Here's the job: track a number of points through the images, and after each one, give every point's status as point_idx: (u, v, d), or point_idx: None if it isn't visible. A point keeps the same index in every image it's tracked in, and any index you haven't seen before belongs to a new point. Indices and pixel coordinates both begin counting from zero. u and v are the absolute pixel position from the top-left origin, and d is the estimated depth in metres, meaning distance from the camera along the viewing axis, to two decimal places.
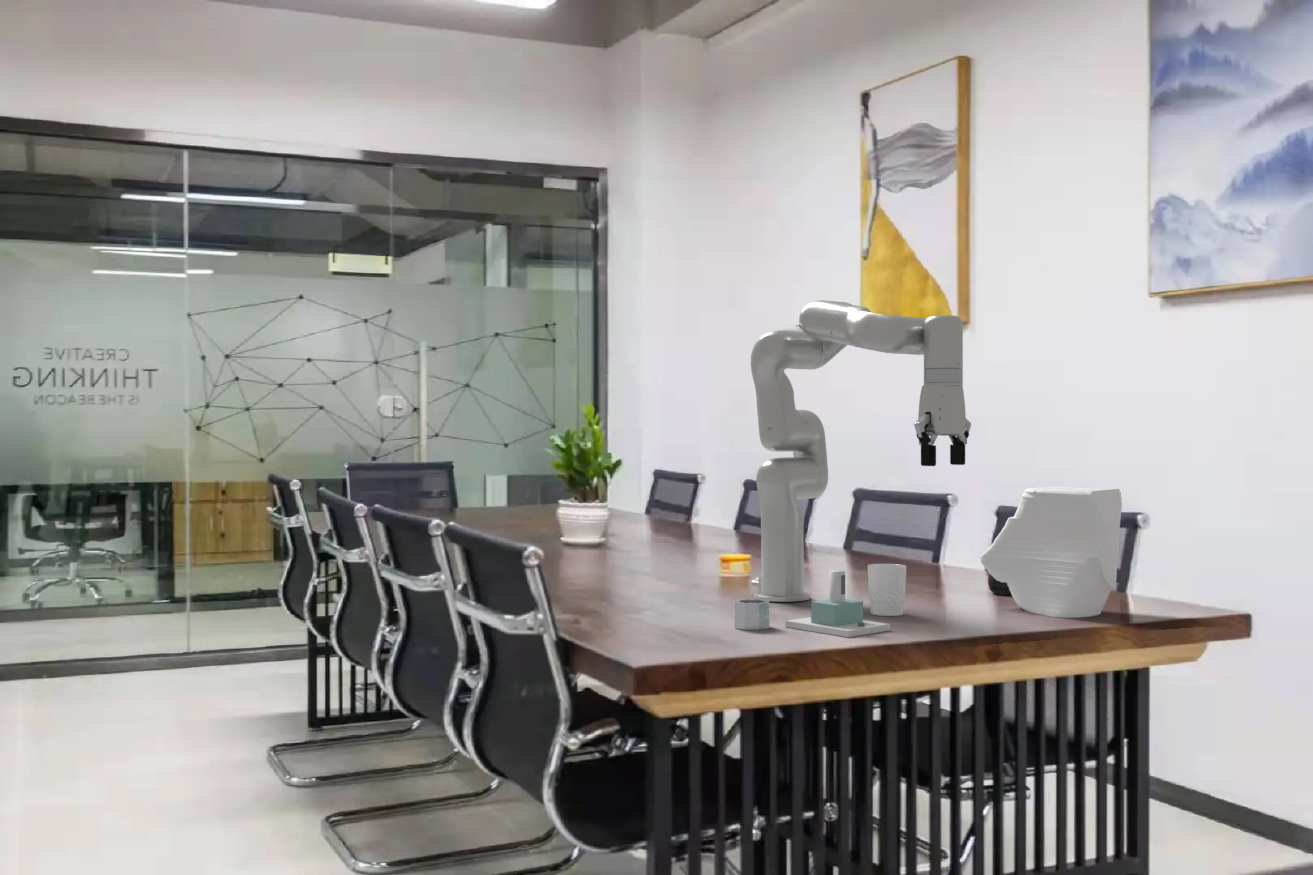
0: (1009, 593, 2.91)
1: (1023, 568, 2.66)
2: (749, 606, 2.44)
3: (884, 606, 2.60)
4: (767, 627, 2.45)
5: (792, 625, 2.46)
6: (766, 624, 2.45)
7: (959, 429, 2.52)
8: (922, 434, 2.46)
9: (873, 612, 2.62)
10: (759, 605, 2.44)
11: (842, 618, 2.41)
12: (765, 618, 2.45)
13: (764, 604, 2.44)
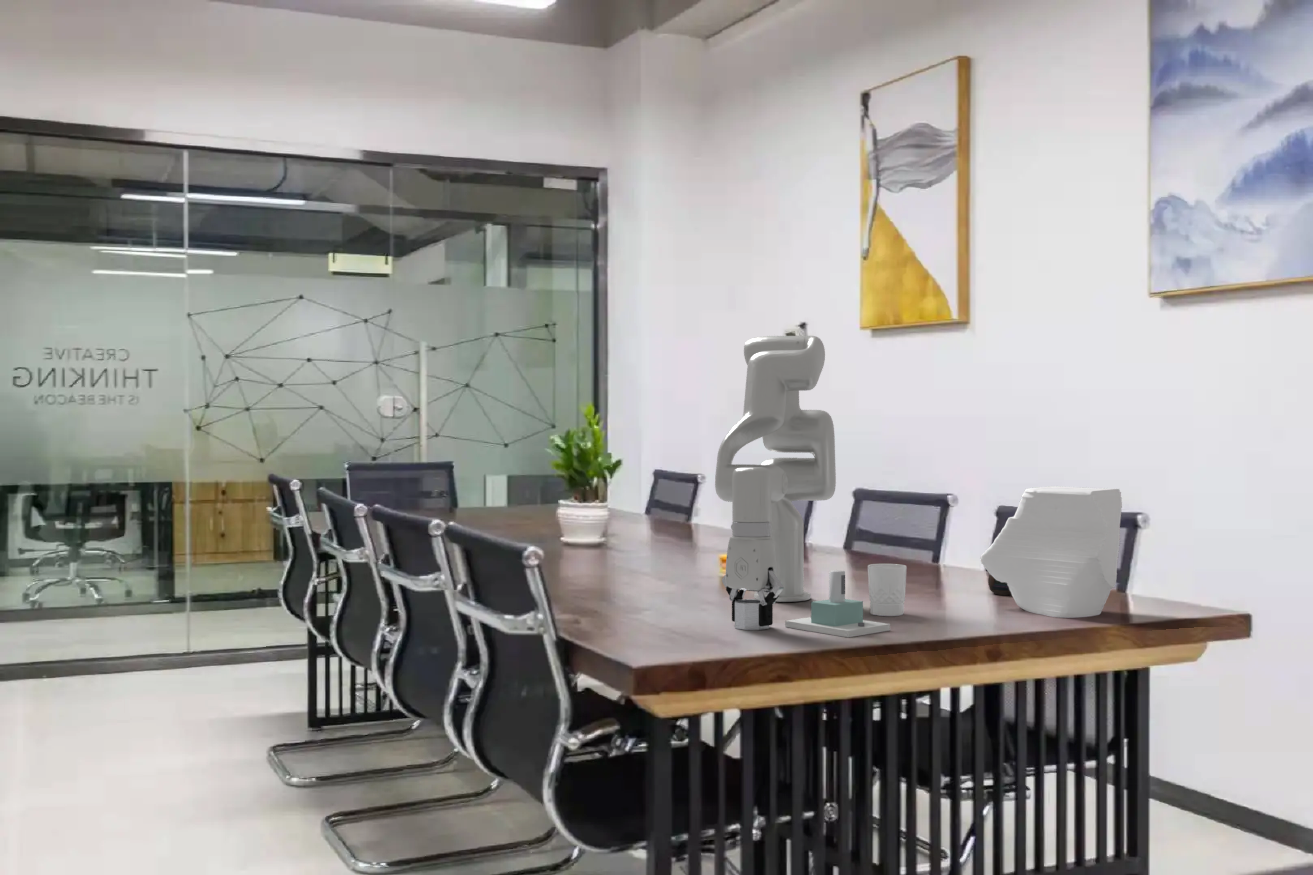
0: (1009, 593, 2.91)
1: (1023, 568, 2.66)
2: (749, 606, 2.44)
3: (884, 606, 2.60)
4: (767, 627, 2.45)
5: (792, 625, 2.46)
6: None
7: None
8: (778, 594, 2.42)
9: (873, 612, 2.62)
10: None
11: (842, 618, 2.41)
12: None
13: None
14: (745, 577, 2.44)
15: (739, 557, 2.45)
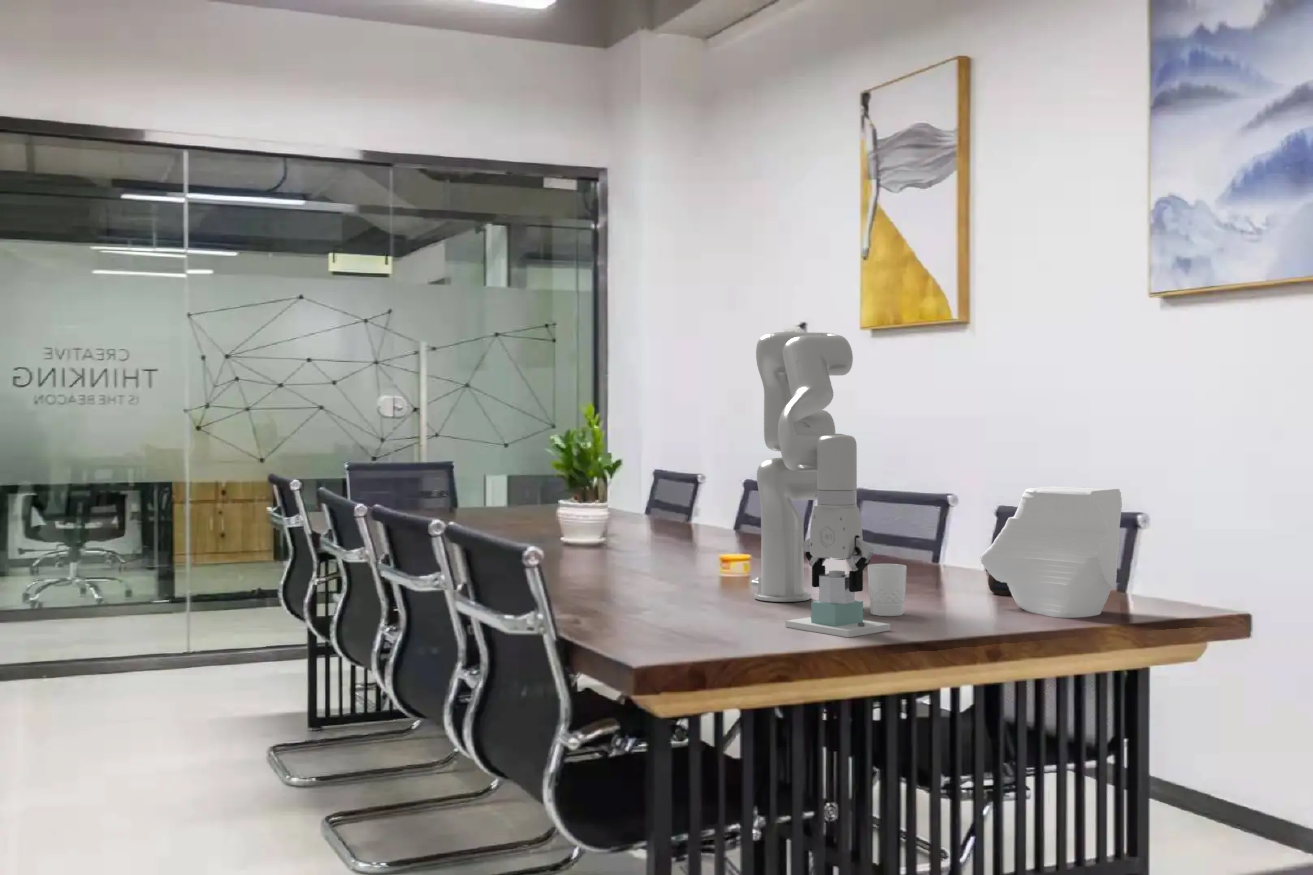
0: (1009, 593, 2.91)
1: (1023, 568, 2.66)
2: (835, 580, 2.42)
3: (884, 606, 2.60)
4: (852, 601, 2.43)
5: (792, 625, 2.46)
6: (851, 598, 2.43)
7: None
8: (869, 559, 2.39)
9: (873, 612, 2.62)
10: (845, 579, 2.41)
11: (842, 618, 2.41)
12: (850, 592, 2.43)
13: None
14: (831, 546, 2.42)
15: (824, 526, 2.43)
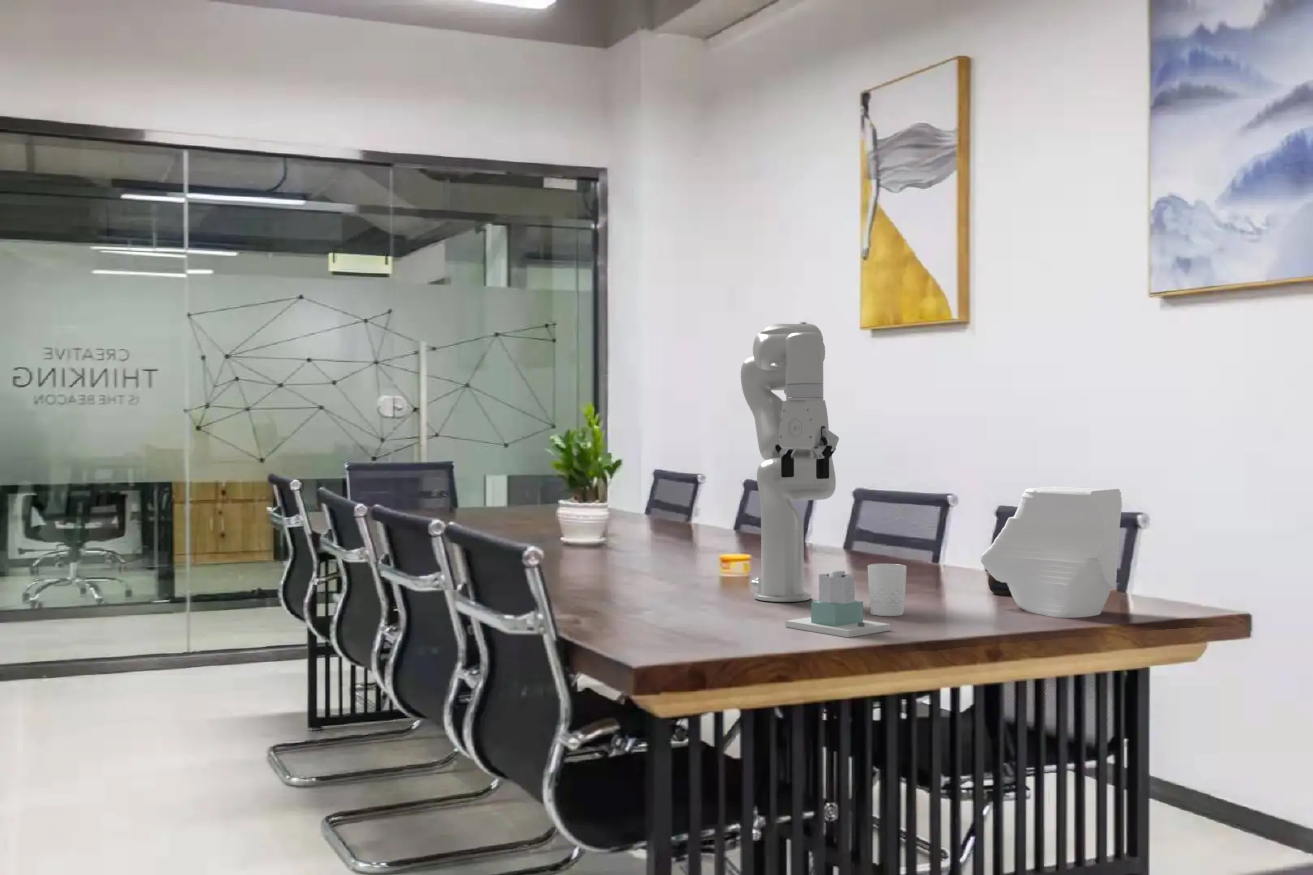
0: (1009, 593, 2.91)
1: (1023, 568, 2.66)
2: (835, 580, 2.42)
3: (884, 606, 2.60)
4: (852, 601, 2.43)
5: (792, 625, 2.46)
6: (851, 598, 2.43)
7: None
8: (835, 448, 2.54)
9: (873, 612, 2.62)
10: (845, 579, 2.41)
11: (842, 618, 2.41)
12: (850, 592, 2.43)
13: (850, 578, 2.42)
14: (799, 436, 2.56)
15: (793, 418, 2.57)
